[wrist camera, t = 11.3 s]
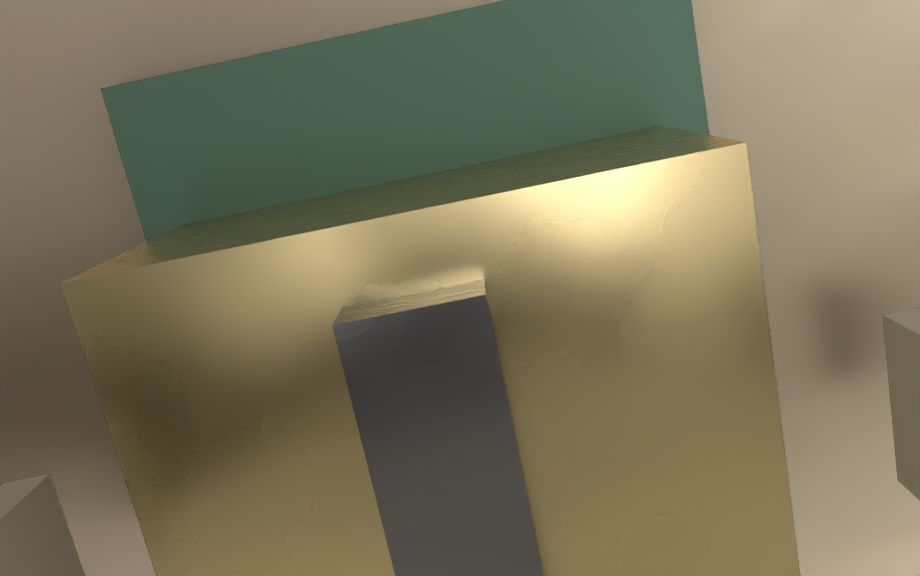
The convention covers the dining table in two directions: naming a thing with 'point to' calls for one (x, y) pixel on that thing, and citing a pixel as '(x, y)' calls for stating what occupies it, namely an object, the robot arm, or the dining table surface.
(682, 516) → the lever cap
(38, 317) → the dining table surface
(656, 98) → the felt pad
